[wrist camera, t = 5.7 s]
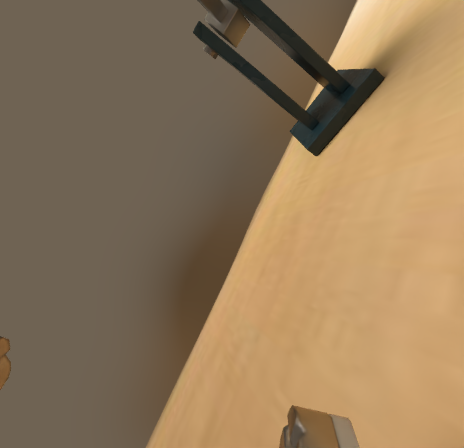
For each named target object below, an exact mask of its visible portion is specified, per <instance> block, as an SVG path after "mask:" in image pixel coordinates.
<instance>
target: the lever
mask: <svg viewBox="0 0 464 448" xmlns="http://www.w3.org/2000/svg"><path fill="white" fill-rule="evenodd" d="M198 1H199V2H200V3H201V5H202V6H203V7H204V8H205V9H206V10H207V11H208V14H207V15H206V17H205V21H206V22H207V23H208V24H209V25H210V26H211V27H212V28H213V29H214V30H215V31H216V32H217V33H218V34H219V35H220V36H222V37H223V38H224V39H225V40H227V41H228V42H229V43H231V44H232V45H233V46H234V47H237V45H238V44H239V42H240V41H241V39H242V37H243V36H244V34H245V33H246V31H247V29H248V28H249V26H250V24H249V22H248V21H247V20H246V18H245V17H244V15H243V14H242V13H241V11H240V10H239V8H237V7H236V6H235V5H233V4H232V3H231V2H229V1H228V0H198Z"/></svg>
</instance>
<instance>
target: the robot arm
mask: <svg viewBox="0 0 464 448" xmlns="http://www.w3.org/2000/svg"><path fill="white" fill-rule="evenodd" d="M9 350H10V343H9V339H6V338H4V337H0V390H1V389H2V387H3V385H4V384H5V382H6V381H7V379H8V377H9V374H10V371H11V362H10V360H9V359H8V357H7V356H6V355H5V354H6V353H7V352H8V351H9ZM287 416H288V425H287V426H285V427H284V428H283V431H282V435H281V439H280V447H279V448H360V447H359V444H358V441H357V438H356V435H355V432H354V429H353V426H352V424H351V421H350V420H349V419H348V418H346V417H341V416H337V415H333V414H327V413H324V412H320V411H315V410H311V409H306V408H302V407H298V406H293V405H292V406H291V408H290V410H289V412H288V415H287Z"/></svg>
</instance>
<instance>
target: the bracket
mask: <svg viewBox="0 0 464 448" xmlns="http://www.w3.org/2000/svg"><path fill="white" fill-rule="evenodd" d="M228 1H229V2H231V3H232V4H233V5H235V6H236V7H237V8H239V10H240V11H241V13H242V14H243V15H244V16H245V17H246V18H247V19H248V20H249V21H251V22H252V23H253V24H254V25H255V26H256V27H257V28H258V29H259V30H260V31H262V32H263V33H264V34H265V35H266V36H267V37H268V38H269V39H270V40H272V41H273V42H274V43H275V44H276V45H277V46H278V47H279V48H281V49H282V50H283V51H284V52H285V53H286V54H287V55H288V56H289V57H291V58H292V59H293V60H294V61H295V62H296V63H297V64H298V65H299V66H301V67H302V68H303V69H304V70H305V71H306V72H307V73H308V74H309V75H311V76H312V77H313V78H314V79H315V80H316V81H317V82H318V83H319V84H321V85H322V86H323V87H324V88H323V90H322V91H321V92H320V94H319V95H318V96H317V97H316V99H315V100H314V101H313V102H312V104H311V105H310V106H309V108H308V109H307V110H306V111H305V110H304V109H303V108H302V107H301V106H299V105H298V104H297V103H296V102H295V101H294V100H292V99H291V98H290V97H289V96H288V95H286V94H285V93H284V92H283V91H282V90H281V89H279V88H278V87H277V86H276V85H275V84H273V83H272V82H271V81H270V80H269V79H268V78H266V77H265V76H264V75H262V74H261V73H260V72H259V71H258V70H257V69H256V68H254V67H253V66H252V65H251V64H250V63H249V62H247V61H246V60H245V59H244V58H243V57H242V56H240V55H239V54H238V53H237V52H235V51H234V50H233V49H232V48H231V47H230V46H229V45H227V44H226V43H225V42H224V41H223V40H221V39H220V38H219V37H218V36H217V35H215V34H214V33H213V32H212V31H211V30H210V29H208V28H207V27H206V26H205V25H204V24H202V23H201V22H200V21H199V22H198V23H197V25H196V27H195V29H194V31H193V33H194V34H195V35H196V36H197V37H198V38H199V39H200V40H201V41H202V42H204V43H205V46H204V48H203V50H204V51H206V52H207V53H208V54H209V55H211V56H212V57H213V58H214V59H216V57H217V55H219V56H220V57H222V58H223V59H224V60H225V61H227V62H228V63H229V64H230V65H231V66H233V67H234V68H235V69H236V70H238V71H239V72H240V73H241V74H242V75H244V76H245V77H246V78H247V79H248V80H250V81H251V82H252V83H253V84H254V85H256V86H257V87H258V88H260V89H261V90H262V91H263V92H264V93H265V94H267V95H268V96H269V97H270V98H272V99H273V100H274V101H275V102H276V103H278V104H279V105H280V106H281V107H282V108H284V109H285V110H286V111H287V112H288V113H290V114H291V115H292V116H293V117H295V118H296V119H297V120H298V122H297V123H296V124H295V125H294V127H293V128H292V129H291V130H290V132H291V133H292V134H293V136H294V137H295V138H296V139H297V140H298V141H299V142H300V143H301V144H302V145H303V146H304V147H305V148H306V149H307V150H308V151H310V152H311V153H312V154H313V155H315V156H317V155H318V154H319V153H320V152H321V151H322V149H323V148H324V147H325V146H326V145H327V144H328V143H329V141H330V140H331V139H332V138H333V137H334V136H335V134H336V133H337V132H338V131H339V130H340V129H341V128H342V126H343V125H344V124H345V123H346V122H347V121H348V119H349V118H350V117H351V116H352V115H353V114H354V113H355V111H356V110H357V109H358V108H359V107H360V106H361V104H362V103H363V102H364V101H365V100H366V99H367V98H368V96H369V95H370V94H371V93H372V92H373V91H374V89H375V88H376V87H377V86H378V85H379V84H380V83H381V81H382V80H383V79H384V77H383V76H382V75H381V74H380V73H379V72H378V71H377V70H376V69H375V68H372V69H348V70H338V71H336V70H335V69H334V68H333V67H332V66H330V65H329V64H328V63H327V62H326V61H325V60H324V59H323V58H322V57H321V56H320V55H319V54H317V52H315V51H314V50H313V49H312V48H311V47H310V46H309V45H308V44H307V43H306V42H305V41H304V40H303V39H301V37H300V36H298V35H297V34H296V33H295V32H294V31H293V30H292V29H291V28H290V27H289V26H288V25H287V24H286V23H285V22H283V21H282V20H281V19H280V18H279V17H278V16H277V15H276V14H275V13H274V12H273V11H272V10H271V9H270V8H269V7H267V6H266V5H265V4H264V3H263V2H262V1H261V0H228Z"/></svg>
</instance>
